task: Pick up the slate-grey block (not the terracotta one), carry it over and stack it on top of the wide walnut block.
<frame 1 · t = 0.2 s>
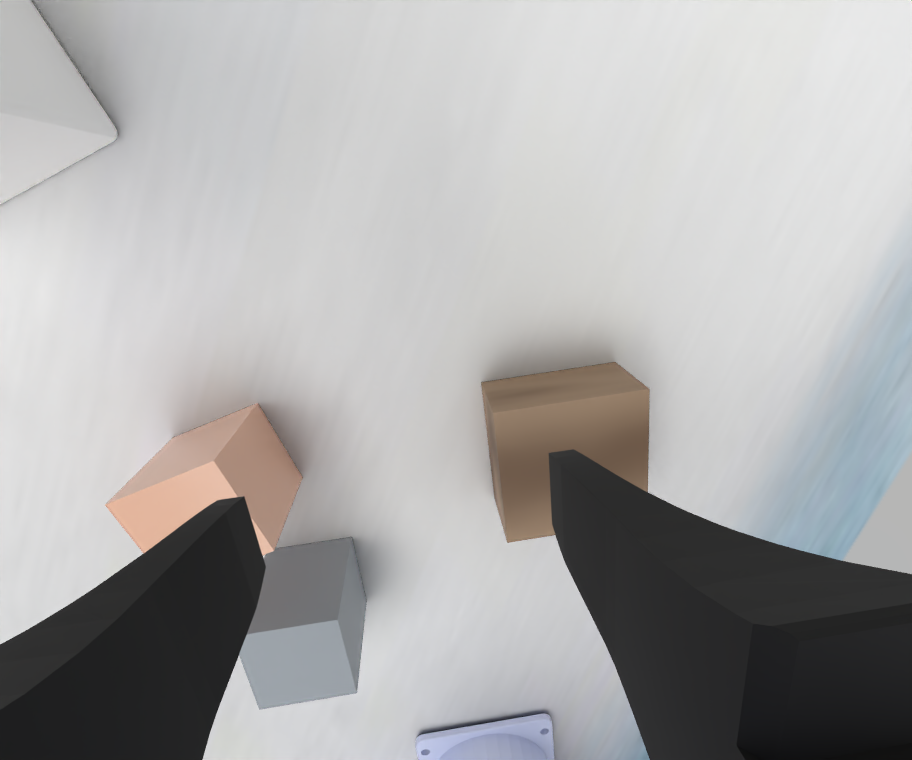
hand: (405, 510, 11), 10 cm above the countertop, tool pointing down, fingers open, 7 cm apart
slate block: (319, 575, 24), on the countertop
walnut block: (550, 430, 23), on the countertop
terracotta block: (239, 457, 21), on the countertop
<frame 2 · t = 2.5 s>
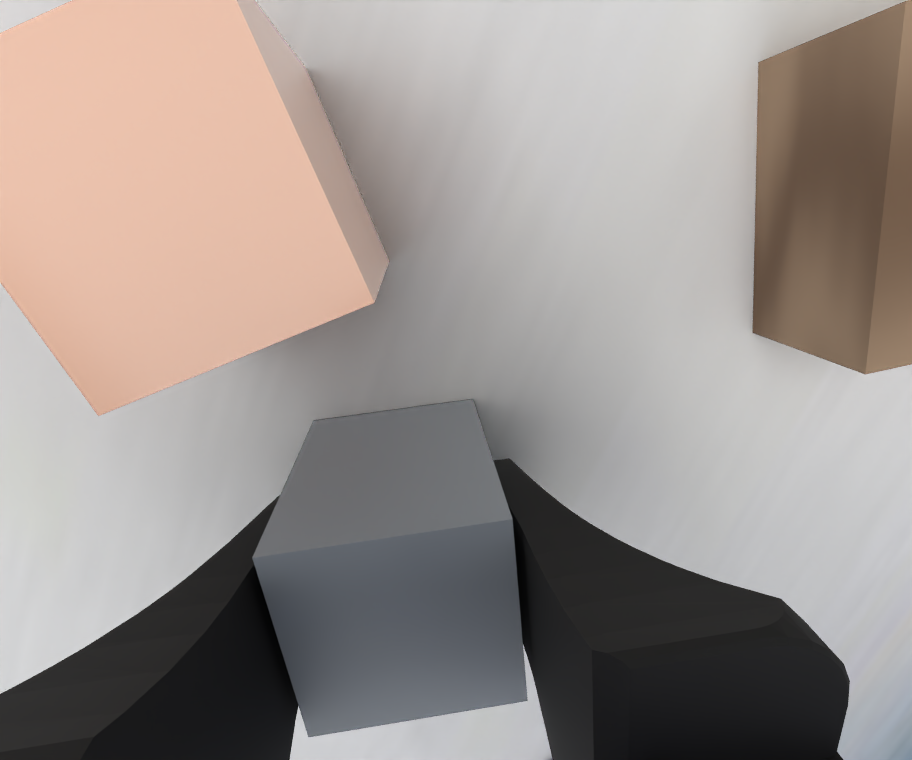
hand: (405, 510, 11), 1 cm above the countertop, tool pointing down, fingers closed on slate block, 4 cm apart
slate block: (405, 478, 13), on the countertop, touching gripper
walnut block: (870, 184, 12), on the countertop
terracotta block: (265, 208, 10), on the countertop
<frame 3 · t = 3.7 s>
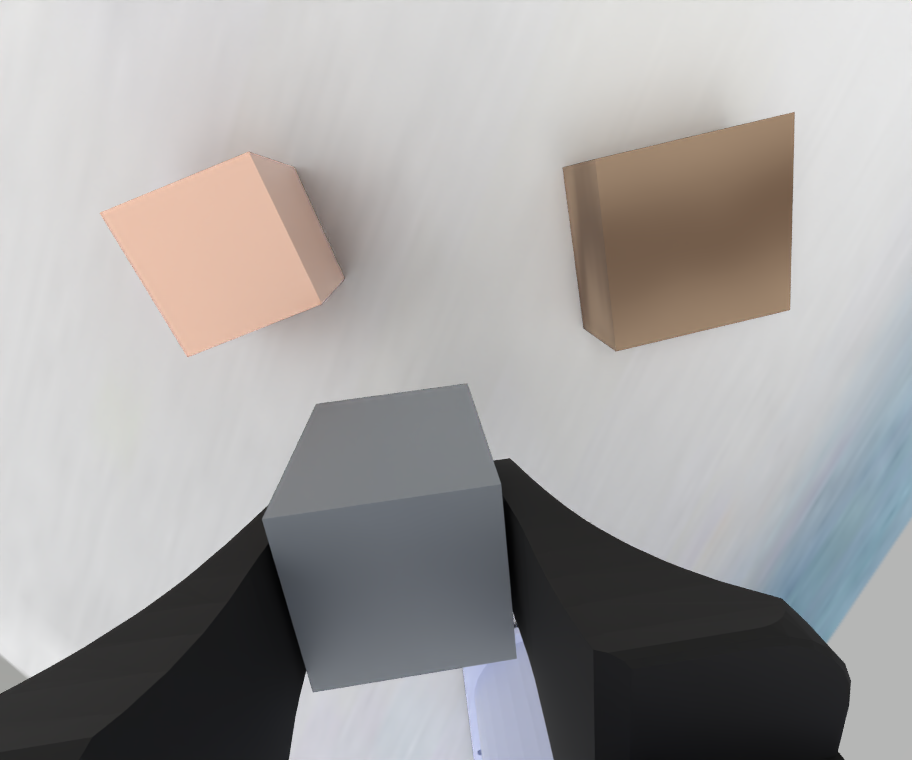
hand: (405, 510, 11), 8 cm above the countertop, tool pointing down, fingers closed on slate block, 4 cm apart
slate block: (403, 460, 13), point 6 cm above the countertop, touching gripper
walnut block: (648, 233, 18), on the countertop
terracotta block: (268, 245, 17), on the countertop
when the fingers open (6 cm above the countertop, at t = 5.1 s): slate block stays where it is, point 3 cm above the countertop.
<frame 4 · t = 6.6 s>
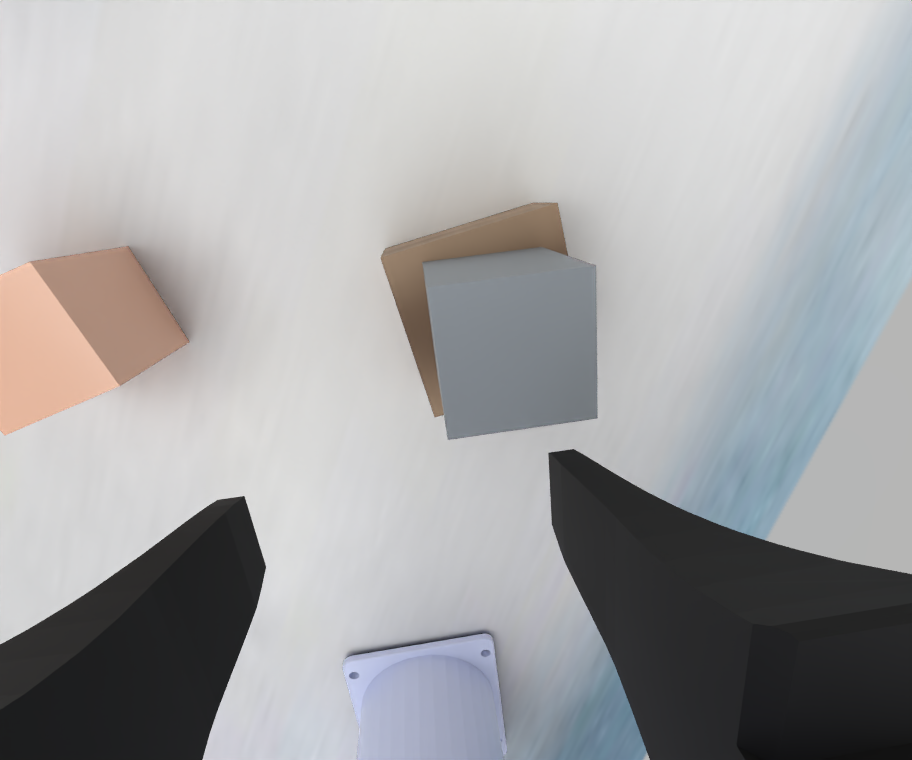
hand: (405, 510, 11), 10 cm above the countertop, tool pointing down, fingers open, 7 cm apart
slate block: (487, 313, 17), point 3 cm above the countertop
walnut block: (478, 298, 20), on the countertop
terracotta block: (114, 315, 19), on the countertop
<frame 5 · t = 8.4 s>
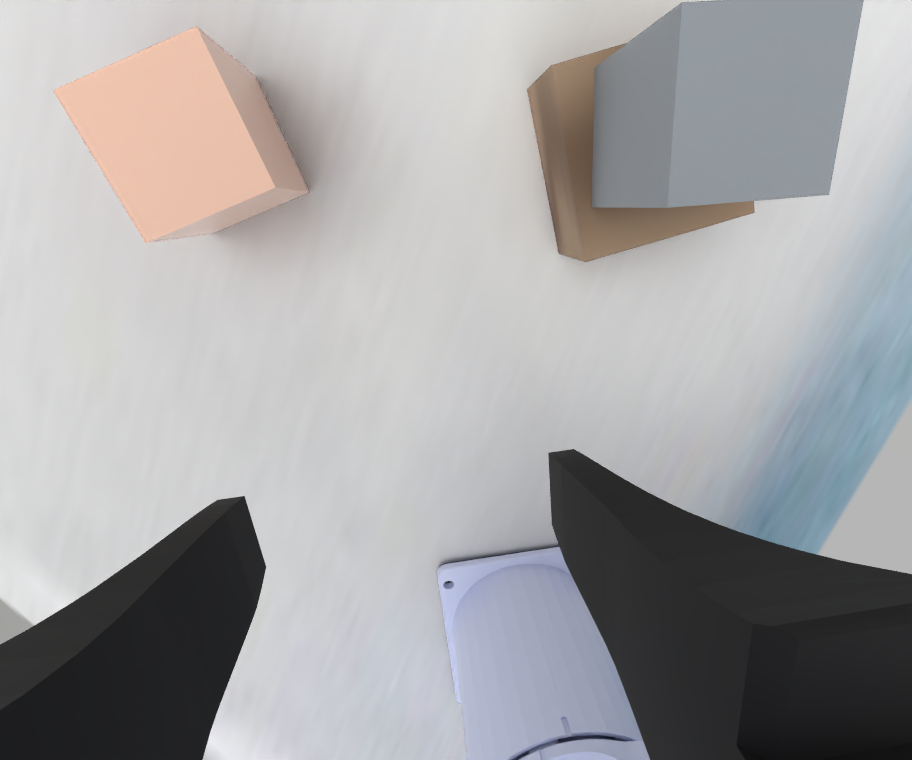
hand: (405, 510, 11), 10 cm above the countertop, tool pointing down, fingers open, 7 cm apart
slate block: (654, 136, 15), point 3 cm above the countertop
walnut block: (616, 154, 19), on the countertop
terracotta block: (233, 158, 18), on the countertop
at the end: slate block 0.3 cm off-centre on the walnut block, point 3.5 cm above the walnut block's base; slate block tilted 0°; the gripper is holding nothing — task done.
